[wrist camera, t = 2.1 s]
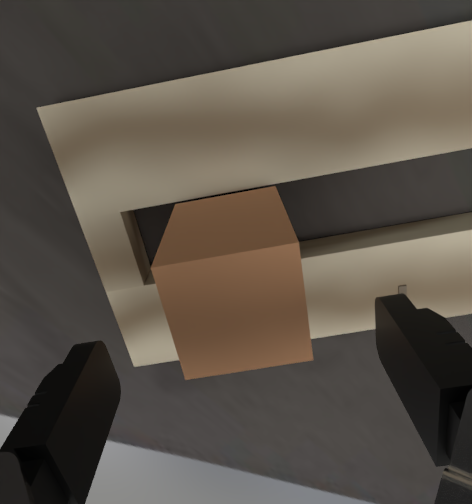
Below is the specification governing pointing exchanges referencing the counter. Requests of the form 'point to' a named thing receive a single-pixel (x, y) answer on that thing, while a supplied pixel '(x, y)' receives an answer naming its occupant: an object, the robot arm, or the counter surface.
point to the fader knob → (233, 284)
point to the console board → (277, 170)
